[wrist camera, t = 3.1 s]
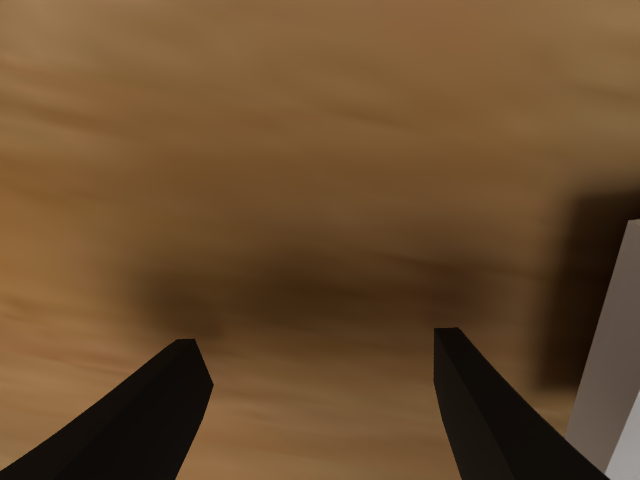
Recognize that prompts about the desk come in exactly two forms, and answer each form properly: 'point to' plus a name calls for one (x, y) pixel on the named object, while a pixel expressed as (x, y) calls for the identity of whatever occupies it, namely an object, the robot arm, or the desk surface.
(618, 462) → the mint green block
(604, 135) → the desk surface
